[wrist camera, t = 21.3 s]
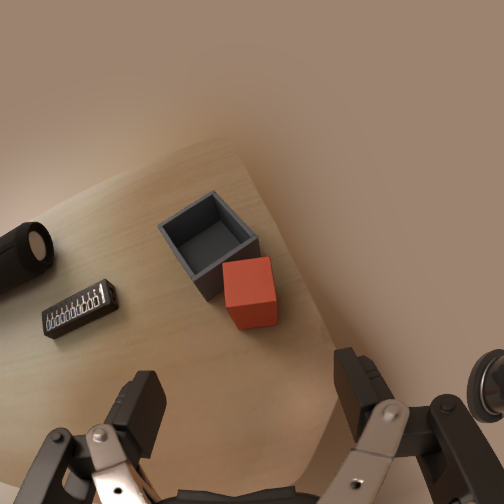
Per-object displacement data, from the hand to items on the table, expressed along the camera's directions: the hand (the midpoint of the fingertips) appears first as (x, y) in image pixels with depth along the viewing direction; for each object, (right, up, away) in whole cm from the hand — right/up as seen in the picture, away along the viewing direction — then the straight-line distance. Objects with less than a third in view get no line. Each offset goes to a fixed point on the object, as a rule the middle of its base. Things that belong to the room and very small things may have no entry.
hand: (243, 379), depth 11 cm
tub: (-5, +5, +29) cm, 30 cm away
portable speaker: (-48, 0, +31) cm, 58 cm away
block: (+1, -2, +25) cm, 25 cm away
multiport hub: (-27, -4, +27) cm, 38 cm away
